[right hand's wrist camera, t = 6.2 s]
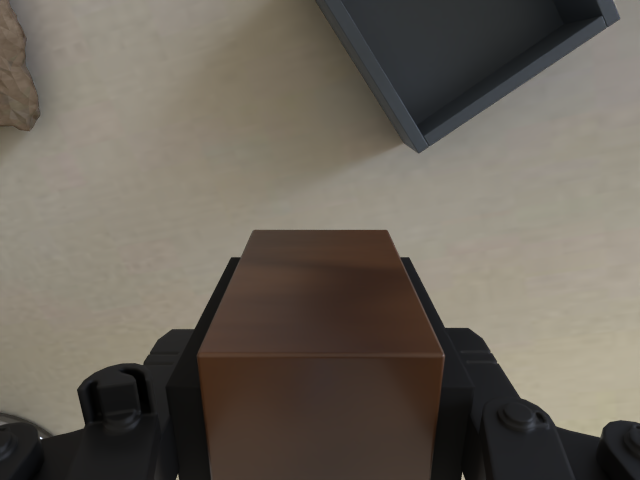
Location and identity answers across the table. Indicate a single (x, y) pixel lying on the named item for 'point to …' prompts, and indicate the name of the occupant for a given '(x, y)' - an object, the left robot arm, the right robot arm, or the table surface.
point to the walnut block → (320, 363)
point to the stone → (15, 75)
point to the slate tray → (456, 52)
